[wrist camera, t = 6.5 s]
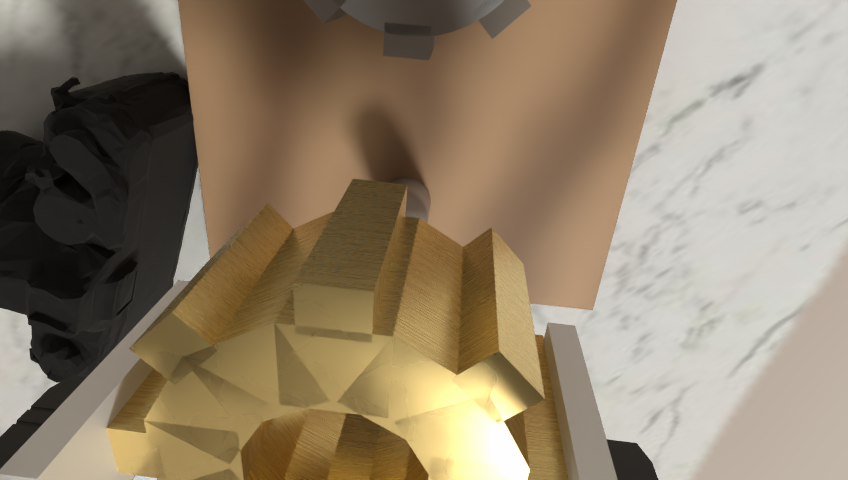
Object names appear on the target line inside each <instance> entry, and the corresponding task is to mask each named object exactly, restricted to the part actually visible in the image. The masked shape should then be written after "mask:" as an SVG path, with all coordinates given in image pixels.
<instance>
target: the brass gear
mask: <svg viewBox="0 0 848 480" xmlns="http://www.w3.org/2000/svg"><path fill="white" fill-rule="evenodd" d="M406 199H407V184H399V183H389V182H380V181H370V180H361V179H353V180H352V181H351V183H350V185H349V187H348V188H347V190H346V192H345V193H344V195H343V197H342V199H341V200H340V202H339V204H338V206H337V207H336V209H335V211H333V212H331V213H328V214H326V215H324V216H321V217H319V218H317V219H314V220H312V221H310V222H307V223H305V224H303V225H300V226H298V227H295V228H293V227H292V226H291V225H290V224H289V223H288V222H287V221H286V220H285V219H284V218H283V217H282V216H281V215H280V214H279V213H278V212H277V211H276V210H275V209H274V208H273V207H271V206H270V205H269V204H268V203H267V204H266V205H265V206H264V207H263V208H262V209H260V210H259V211H258V212H257V213H256V214H255V215H254V216H252V217H251V218H250V219H249V220H248V221H247V222H246V223H245V224H243V225H242V226H241V227H240V228H239V229H238V230H237V231H235V232H234V233H233V235H232V236H231V237H230V238H229V239H228V240H227V241H226V242H225V243H224V244H223V246H222V247H221V248H220V249H219V250H218V251H217V252H216V253H215V254H214V256H213V257H212V258H211V259H210V260H209V261H208V262H207V263H206V264H205V265H204V267H203V268H202V269H201V270H200V271H199V272H198V273H197V274H196V275H195V276H194V278H193V279H192V280H191V281H190V282H189V283H188V284H187V285H186V286H185V288H184V289H183V290H182V291H181V292H180V293H179V294H178V295H177V296H176V297H175V299H174V300H173V301H172V302H171V303H170V304H169V305H168V306H167V307H166V308H165V310H164V311H163V312H162V313H161V314H160V315H159V316H158V317H157V318H156V320H155V321H154V322H153V323H152V324H151V325H150V326H149V327H148V328H147V329H146V331H145V332H144V333H143V334H142V335H141V336H140V337H139V338H138V339H137V340H136V342H135V343H134V344H133V345H132V346H131V347H130V348H129V349H130V350H131V351H132V352H133V353H135V354H136V355H137V356H139V357H140V358H141V359H142V360H144V361H145V362H146V363H147V364H149V365H150V366H151V367H153V368H154V369H153V370H152V371H151V373H150V374H149V375H148V376H147V378H146V379H145V380H144V381H143V383H142V384H141V385H140V386H139V388H138V389H137V390H136V391H135V393H134V394H133V395H132V396H131V398H130V399H129V400H128V401H127V403H126V404H125V405H124V406H123V408H122V409H121V410H120V412H119V413H118V414H117V415H116V417H115V418H114V419H113V420H112V422H111V423H110V424H109V425H108V427H107V428H106V429H107V433H108V436H109V440H110V443H111V447H112V450H113V454H114V457H115V461H116V465H117V468H118V472H119V473H123V474H131V475H138V476H146V477H154V478H157V480H569V479H568V473H567V468H566V462H565V457H564V451H563V446H562V440H561V435H560V429H559V424H558V418H557V413H556V407H555V401H554V396H553V390H552V385H551V379H550V374H549V368H548V363H547V357H546V352H545V346H544V337H543V336H542V335H535V333H534V327H533V321H532V314H531V308H530V302H529V295H528V289H527V283H526V277H525V270H524V264H523V263H522V262H521V261H520V259H519V258H518V257H517V256H516V255H515V254H514V252H513V251H512V250H511V249H510V248H509V247H508V245H507V244H506V243H505V242H504V241H503V240H502V239H501V237H500V236H499V235H498V234H497V233H496V232H495V230H494V229H493V228H492V227H491V228H490V229H488V230H487V231H485V232H484V233H483V234H481V235H480V236H478V237H477V238H475V239H474V240H472V241H471V242H470V243H468V244H467V245H465V246H464V247H463V246H461V245H460V244H458V243H457V242H455V241H454V240H452V239H451V238H449V237H448V236H446V235H445V234H443V233H441V232H440V231H438V230H437V229H435V228H434V227H432V226H431V225H429V224H428V223H426V222H425V221H423V220H422V219H420V218H415V217H406V216H405V214H406Z"/></svg>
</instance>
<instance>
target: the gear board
mask: <svg viewBox="0 0 848 480" xmlns="http://www.w3.org/2000/svg"><path fill="white" fill-rule="evenodd" d="M676 2H677V0H178V3H179V11H180V19H181V27H182V35H183V43H184V51H185V59H186V68H187V76H188V84H189V92H190V100H191V108H192V114H193V118H194V121H193V124H194V132H195V140H196V148H197V156H198V165H199V173H200V181H201V189H202V197H203V205H204V213H205V221H206V229H207V237H208V245H209V253H210V259H211V258H212V257H213V256H214V254H215V253H216V252H217V251H218V250H219V249H220V248H221V247H222V246H223V244H224V243H225V242H226V241H227V240H228V239H229V238H230V237H231V236H232V235H233V233H234V232H235V231H237V230H238V229H239V228H240V227H241V226H242V225H243V224H245V223H246V222H247V221H248V220H249V219H250V218H251V217H252V216H254V215H255V214H256V213H257V212H258V211H259V210H260V209H262V208H263V207H264V206H265V205H266V204H267V203H268V204H269V205H270V206H271V207H273V208H274V209H275V210H276V211H277V212H278V213H279V214H280V215H281V216H282V217H283V218H284V219H285V220H286V221H287V222H288V223H289V224H290V225H291V226H292V227H293V228H295V227H298V226H300V225H303V224H305V223H307V222H310V221H312V220H314V219H317V218H319V217H321V216H324V215H326V214H328V213H331V212H333V211H335V209H336V207H337V206H338V204H339V202H340V200H341V199H342V197H343V195H344V193H345V192H346V190H347V188H348V187H349V185H350V183H351V181H352V180H353V179H361V180H370V181H380V182H389V183H399V184H407V199H406V214H405V216H406V217H415V218H420V219H422V220H423V221H425V222H426V223H428V224H429V225H431V226H432V227H434V228H435V229H437V230H438V231H440V232H441V233H443V234H445V235H446V236H448V237H449V238H451V239H452V240H454V241H455V242H457V243H458V244H460V245H461V246H463V247H464V246H465V245H467V244H468V243H470V242H471V241H472V240H474V239H475V238H477V237H478V236H480V235H481V234H483V233H484V232H485V231H487V230H488V229H490V228H491V227H492V228H493V229H494V230H495V232H496V233H497V234H498V235H499V236H500V237H501V239H502V240H503V241H504V242H505V243H506V244H507V245H508V247H509V248H510V249H511V250H512V251H513V252H514V254H515V255H516V256H517V257H518V258H519V259H520V261H521V262H522V263H523V264H524V270H525V277H526V283H527V289H528V295H529V302H530V303H532V304H541V305H550V306H559V307H569V308H578V309H587V310H593V307H594V303H595V299H596V296H597V292H598V288H599V285H600V281H601V277H602V274H603V270H604V266H605V263H606V259H607V255H608V252H609V248H610V244H611V241H612V237H613V233H614V230H615V226H616V222H617V219H618V215H619V211H620V208H621V204H622V200H623V197H624V193H625V189H626V186H627V182H628V178H629V175H630V171H631V167H632V164H633V160H634V156H635V153H636V149H637V145H638V142H639V138H640V134H641V131H642V127H643V123H644V120H645V116H646V112H647V109H648V105H649V101H650V98H651V94H652V90H653V87H654V83H655V79H656V76H657V72H658V68H659V65H660V61H661V57H662V54H663V50H664V46H665V42H666V39H667V35H668V31H669V28H670V24H671V20H672V17H673V13H674V9H675V6H676Z"/></svg>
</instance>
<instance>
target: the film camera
mask: <svg viewBox="0 0 848 480" xmlns="http://www.w3.org/2000/svg"><path fill="white" fill-rule="evenodd" d="M78 84H80V82H79V80H78V79H77V78H75V77H72V78H70V79H69V80H68V81H66V82H65V83H64V84H63V85H61V86H60V87H55V88H52V89H51V95H52V98H53V100H54V104H55V111H53V112H51V113H50V114H49V115H48V116H47V118H46V120H45V121H44V133H45V134H44V140H43V142H40V141H38V140H35V139H33V138H30V137H27V136H25V135H22V134H20V133H18V132H15V131H8V130H7V131H0V308H3V309H7V310H11V311H15V312H18V313H21V314H25V315H27V317H28V324H29V325H31V326H32V339H31V347H32V348H30V358H31V360H32V361H34V362H36V363H38V364H39V365H40V367H41V369H42V371H43V372H44V373H45V374H46V375H47V376H48V377H47V378H49V379H51V380H53V381H55V382H61V381H63V380H65V379H66V378H68V377H70V376H71V375H75V376H83V377H88V376H89V375H90V374H91V373H92V371H93V370H94V369H95V368H96V367H97V366H98V365H99V364H100V363H101V362H102V361H103V360H104V359H105V358H106V357H107V356H108V355H109V353H110V352H111V351H112V350H113V349H114V348H115V347H116V346H117V345H118V344H119V343H120V342H121V341H122V340H123V339H124V338H125V336H126V335H127V334H128V333H129V332H130V331H131V330H132V329H133V328H134V327H135V326H136V325H137V324H138V323H139V322H140V321H141V320H142V318H143V317H144V316H145V315H146V314H147V313H148V312H149V311H150V310H151V309H152V308H153V307H154V306H155V305H156V304H157V303H158V302H159V300H160V299H161V298H162V297H163V296H164V295H165V294H166V293H167V292H168V291H169V290H170V289H171V288H172V287H173V278H174V275H175V272H176V268H177V263H178V259H179V253H180V249H181V246H182V240H183V235H184V230H185V225H186V221H187V217H188V213H189V208H190V202H191V197H192V193H193V188H194V183H195V178H196V173H197V168H198V156H197V148H196V140H195V132H194V124H193V121H194V118H193V114H192V108H191V100H190V92H189V84H188V81H186V80H185V79H183V78H180V77H179V75H178V74H176V73H174V72H171V73H163V72H160V73H151V74H150V73H147V74H136V75H128V76H123V77H120V78H117V79H113V80H109V81H105V82H103V83H100V84H97V85H94V86H90V87H86V88H83V89H80V90H76V91H73V92H68V90H69V89H70V88H72V87H73V86H75V85H78Z"/></svg>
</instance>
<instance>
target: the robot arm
mask: <svg viewBox="0 0 848 480" xmlns="http://www.w3.org/2000/svg"><path fill="white" fill-rule="evenodd" d="M188 283H189V281H180V280H178V281H177V282H176V284H175V285H174V286H173V287H172V288H171V289H170V290H169V291H168V292H167V293H166V294H165V295H164V296H163V297H162V298H161V299H160V300H159V302H158V303H157V304H156V305H155V306H154V307H153V308H152V309H151V310H150V311H149V312H148V313H147V314H146V315H145V316H144V317H143V318H142V320H141V321H140V322H139V323H138V324H137V325H136V326H135V327H134V328H133V329H132V330H131V331H130V332H129V333H128V334H127V335H126V336H125V338H124V339H123V340H122V341H121V342H120V343H119V344H118V345H117V346H116V347H115V348H114V349H113V350H112V351H111V352H110V353H109V355H108V356H107V357H106V358H105V359H104V360H103V361H102V362H101V363H100V364H99V365H98V366H97V367H96V368H95V369H94V370H93V371H92V373H91V374H90V375H89V376H88V377H83V376H75V375H71V376H70V377H68V378H66V379H65V380H63V381H61V382H60V383H58V384H56V385H55V386H53V387H51V388H50V389H48V390H47V391H46V392H45V393H44V394H43V395H42V396H41V397H40V398H39V399H38V400H37V401H36V402H35V403H34V404H33V405H32V406H31V409H30V410H27V411H26V412H25V413H24V414H23V415H22V416H21V417H20V418H19V419H18V420H17V423H16V424H13V425H12V426H11V427H10V428H9V429H8V430H7V431H6V432H5V433H4V434H3V435H2V436H1V437H0V480H133V478H134V477H135V475H131V474H123V473H119V472H118V468H117V465H116V461H115V457H114V454H113V450H112V447H111V443H110V440H109V436H108V433H107V429H106V428H107V427H108V425H109V424H110V423H111V422H112V420H113V419H114V418H115V417H116V415H117V414H118V413H119V412H120V410H121V409H122V408H123V406H124V405H125V404H126V403H127V401H128V400H129V399H130V398H131V396H132V395H133V394H134V393H135V391H136V390H137V389H138V388H139V386H140V385H141V384H142V383H143V381H144V380H145V379H146V378H147V376H148V375H149V374H150V373H151V371H152V370H153V369H154V368H153V367H151V366H150V365H149V364H147V363H146V362H145V361H144V360H142V359H141V358H140V357H139V356H137V355H136V354H135V353H133V352H132V351H131V350H130V349H129V348H130V347H131V346H132V345H133V344H134V343H135V342H136V340H137V339H138V338H139V337H140V336H141V335H142V334H143V333H144V332H145V331H146V329H147V328H148V327H149V326H150V325H151V324H152V323H153V322H154V321H155V320H156V318H157V317H158V316H159V315H160V314H161V313H162V312H163V311H164V310H165V308H166V307H167V306H168V305H169V304H170V303H171V302H172V301H173V300H174V299H175V297H176V296H177V295H178V294H179V293H180V292H181V291H182V290H183V289H184V288H185V286H186V285H187V284H188ZM544 346H545V352H546V357H547V363H548V368H549V374H550V379H551V385H552V390H553V396H554V401H555V407H556V413H557V418H558V424H559V429H560V435H561V440H562V446H563V451H564V457H565V462H566V468H567V473H568V479H569V480H658V478H657V475H656V472H655V469H654V467H653V464H652V462H651V461H650V459H649V458H648V457H647V456H646V454H645V453H644V452H643V451H642V449H641V448H640V447H639V446H638V444H637V443H631V442H623V441H615V440H607V439H606V436H605V433H604V429H603V425H602V422H601V418H600V414H599V411H598V407H597V404H596V400H595V396H594V393H593V389H592V386H591V382H590V378H589V375H588V371H587V367H586V364H585V360H584V357H583V353H582V349H581V346H580V342H579V338H578V335H577V331H576V328H575V326H573V325H564V324H556V323H548V324H547V328H546V333H545V337H544Z"/></svg>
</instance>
